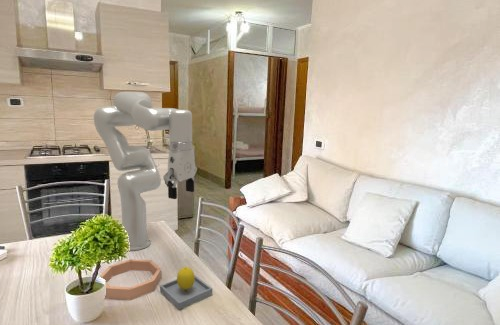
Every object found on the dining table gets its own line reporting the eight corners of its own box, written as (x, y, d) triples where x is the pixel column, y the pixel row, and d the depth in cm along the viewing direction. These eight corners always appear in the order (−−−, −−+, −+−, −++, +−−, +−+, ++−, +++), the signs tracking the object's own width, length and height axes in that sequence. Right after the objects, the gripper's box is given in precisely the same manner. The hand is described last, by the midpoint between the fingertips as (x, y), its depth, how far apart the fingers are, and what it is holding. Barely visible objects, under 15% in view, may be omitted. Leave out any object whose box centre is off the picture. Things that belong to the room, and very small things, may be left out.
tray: (160, 291, 105) (160, 285, 105) (192, 278, 113) (192, 273, 113) (179, 310, 97) (179, 303, 96) (212, 294, 104) (212, 288, 104)
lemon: (190, 296, 102) (190, 272, 100) (174, 293, 103) (173, 270, 101) (197, 286, 107) (197, 264, 105) (181, 283, 108) (181, 261, 107)
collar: (93, 280, 110) (92, 271, 110) (145, 263, 123) (144, 254, 122) (113, 306, 97) (112, 296, 96) (169, 284, 109) (169, 275, 109)
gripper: (173, 150, 102) (174, 203, 105) (204, 144, 117) (204, 190, 120) (154, 148, 105) (156, 199, 108) (187, 142, 120) (187, 187, 123)
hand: (181, 194), depth 114 cm, fingers open, 9 cm apart
